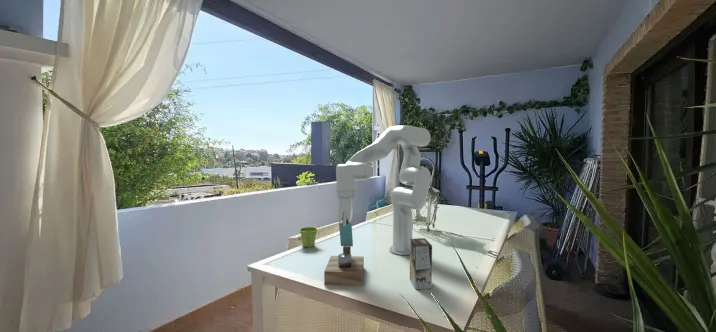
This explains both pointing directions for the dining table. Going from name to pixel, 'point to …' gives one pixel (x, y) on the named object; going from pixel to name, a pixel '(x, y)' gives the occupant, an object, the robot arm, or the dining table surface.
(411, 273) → the coffee box
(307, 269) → the dining table surface
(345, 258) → the pin
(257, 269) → the dining table surface
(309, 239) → the plant pot
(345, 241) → the teal flat block
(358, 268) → the block
